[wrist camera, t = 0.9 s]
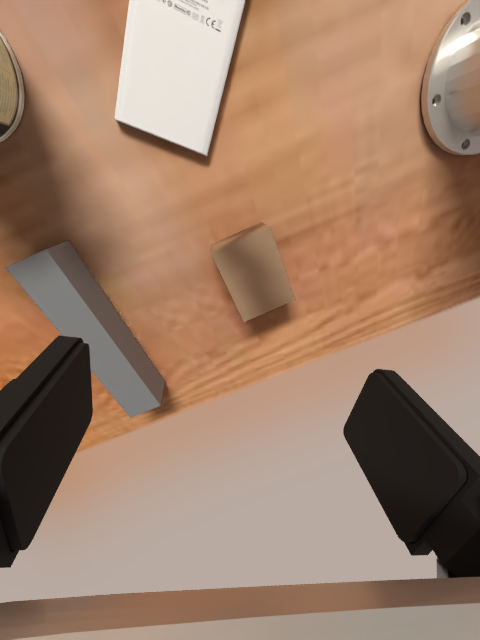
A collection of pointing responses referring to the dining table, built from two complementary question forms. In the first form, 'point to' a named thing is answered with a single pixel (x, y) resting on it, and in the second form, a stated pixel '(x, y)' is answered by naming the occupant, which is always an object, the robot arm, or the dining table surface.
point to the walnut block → (253, 271)
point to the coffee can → (9, 90)
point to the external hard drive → (176, 67)
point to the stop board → (91, 324)
